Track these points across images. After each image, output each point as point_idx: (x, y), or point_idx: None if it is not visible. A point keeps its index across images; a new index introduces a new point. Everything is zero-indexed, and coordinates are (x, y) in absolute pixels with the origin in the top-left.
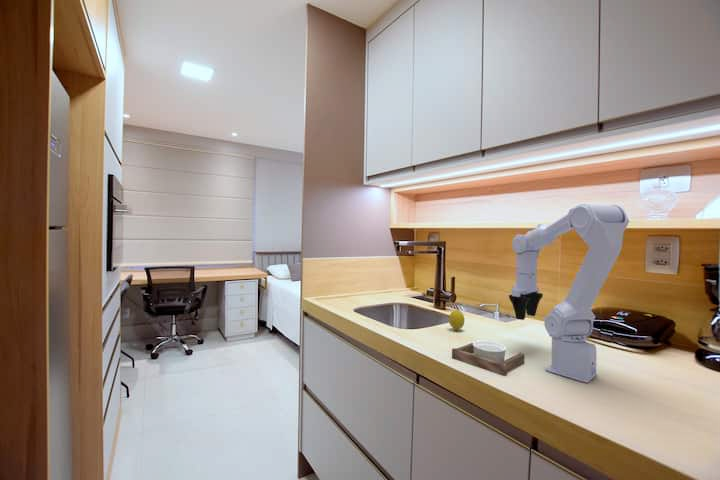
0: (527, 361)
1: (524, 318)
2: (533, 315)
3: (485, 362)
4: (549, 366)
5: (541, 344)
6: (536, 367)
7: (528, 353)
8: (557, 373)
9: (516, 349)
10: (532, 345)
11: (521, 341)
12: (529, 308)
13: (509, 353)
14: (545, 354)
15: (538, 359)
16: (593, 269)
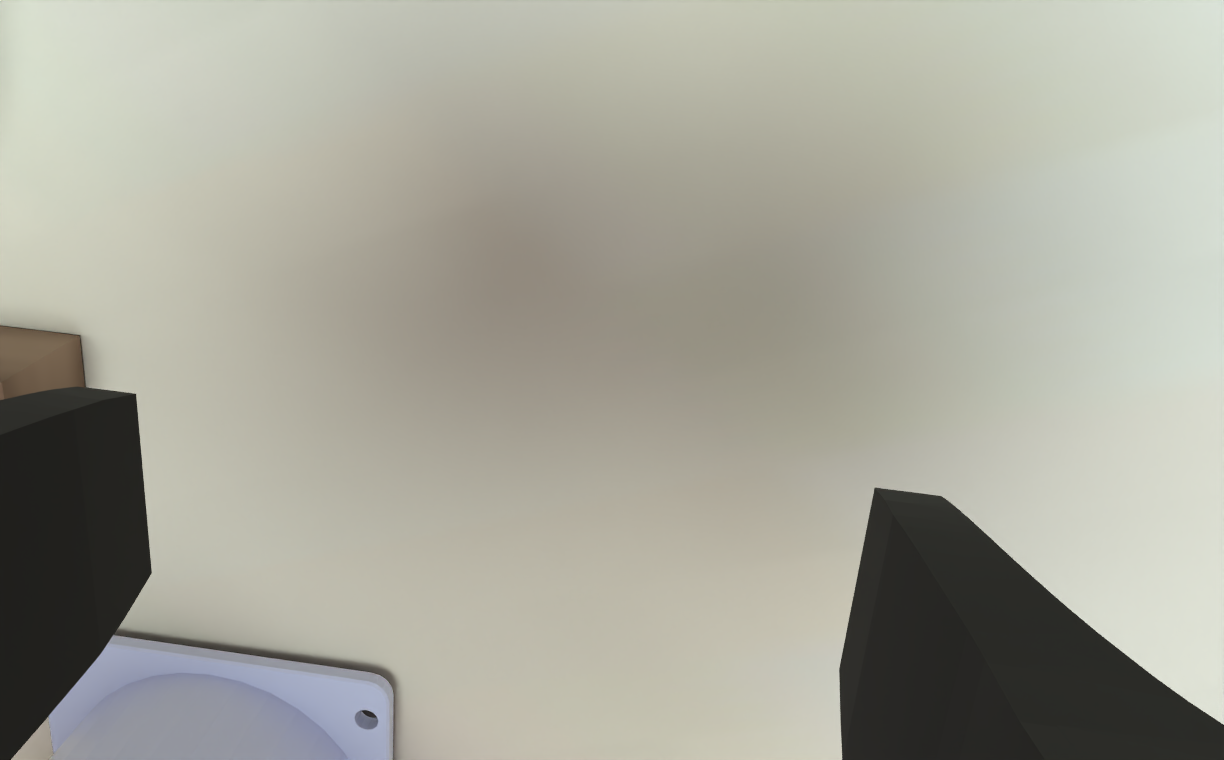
0: (181, 401)
1: (125, 602)
2: (841, 668)
3: None
4: (151, 657)
5: (1192, 350)
6: None
7: (520, 320)
8: (54, 736)
9: (569, 116)
10: (1014, 251)
11: (1155, 15)
12: (912, 689)
13: (280, 103)
14: (668, 507)
15: (377, 485)
16: None
